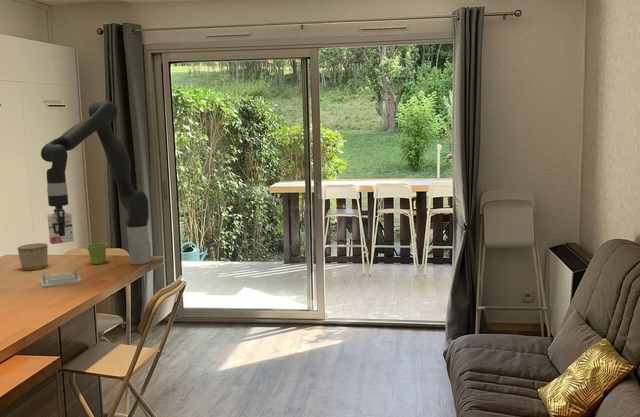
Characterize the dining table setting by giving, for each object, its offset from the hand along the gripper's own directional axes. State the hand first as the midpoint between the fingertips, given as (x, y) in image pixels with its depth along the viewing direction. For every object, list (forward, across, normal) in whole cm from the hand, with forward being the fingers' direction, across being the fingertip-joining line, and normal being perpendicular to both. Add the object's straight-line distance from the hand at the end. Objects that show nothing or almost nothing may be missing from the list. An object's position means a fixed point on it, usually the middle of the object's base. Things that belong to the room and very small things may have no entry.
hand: (61, 234), depth 267 cm
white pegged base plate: (+20, +2, +2) cm, 20 cm away
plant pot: (+20, +31, -18) cm, 41 cm away
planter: (+20, +40, +9) cm, 45 cm away
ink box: (+3, 0, 0) cm, 3 cm away
